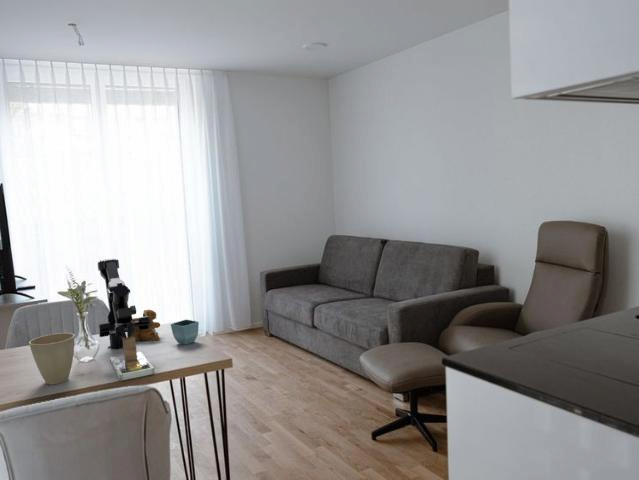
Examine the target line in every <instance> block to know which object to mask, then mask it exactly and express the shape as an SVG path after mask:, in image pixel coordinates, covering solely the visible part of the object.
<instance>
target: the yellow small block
mask: <svg viewBox="0 0 639 480" xmlns="http://www.w3.org/2000/svg"><path fill="white" fill-rule="evenodd" d="M138 370H143V369H142V367H141V365H140V363H137V364H132V365H128V371H129V372H133V371H138Z"/></svg>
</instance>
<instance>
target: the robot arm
mask: <svg viewBox="0 0 639 480" xmlns="http://www.w3.org/2000/svg"><path fill="white" fill-rule="evenodd" d="M119 269H120V263H119V259H117V258H107V259H101V260H99V261H98V262H97V270H98V272H99V275H100V277H102V279H103V280H104V282H105V288H106V295H107V302H108V309H109V312H108V315H107V317H106V321H105V322H103V323H101V322H100V324H99V325H98V334H99V337H100V338H104V337H109V345H108V346H107V349H114V350H120V349H122V348H123V338H128V337H131V336H132V334H133V333H135V328H136V327H137V326H138V327H139V329H140V330H146V329H149V328H150V318H149V317H148V316H146V317H143V316H141V317H138V318H139V320H138V321H136V322H132V321H131V320H132V319H133V316H134V315H137V308H136V305H130V306H129V304H128V303H129V296H130V294H131V289H129V287H128V286H127V285H126V284H125V281H124V280H122V279H121V278H120V275H119V271H118V270H119Z"/></svg>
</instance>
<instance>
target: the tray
mask: <svg viewBox="0 0 639 480" xmlns="http://www.w3.org/2000/svg"><path fill="white" fill-rule="evenodd" d="M116 372H117V374H116V375H117V378H118V380H119V381H126V380H130V379H134V378H139V377H145V376H149V375H155V374H156V372H155V367H154V366H153V364H152V363H151V362H150V361H148V362H147V368H143V369H142V370H138V371H133V372H123V373H121V371H120V369H119V368H116V371H115V373H116Z"/></svg>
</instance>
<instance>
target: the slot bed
mask: <svg viewBox="0 0 639 480" xmlns="http://www.w3.org/2000/svg"><path fill="white" fill-rule="evenodd" d="M137 360H138V362H139V363H140V365H141V367H142V370H143V369H148V368H147V362H149V360H148V359H147V358H146V357H145V355H144V354H143V351H137ZM109 361H110V364H111V365H112V367H113V369H114V372H115V374H116V375H117V372H116V368H119V369H120V371H121V373H122V374H123V373H128V371H127V369H126V367H125V358H124V357H121V358H120V356H118V355H116V356H110V357H109Z"/></svg>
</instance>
